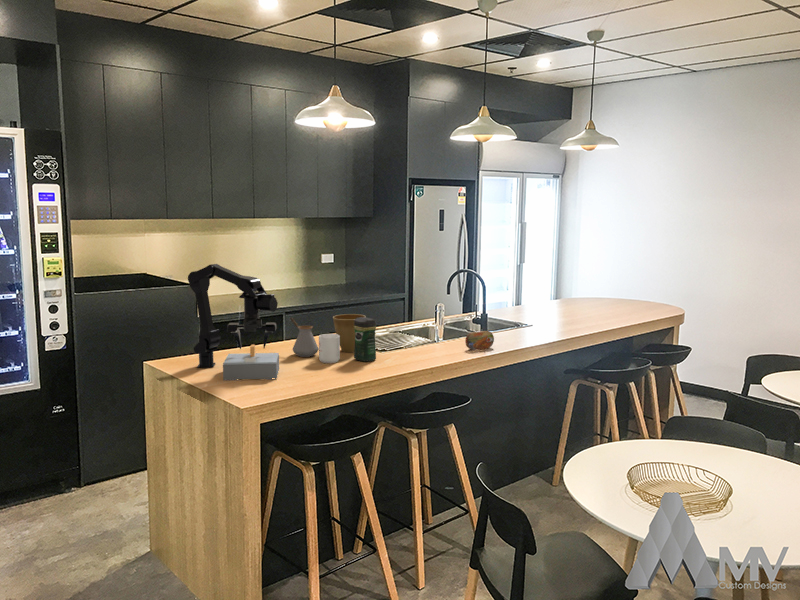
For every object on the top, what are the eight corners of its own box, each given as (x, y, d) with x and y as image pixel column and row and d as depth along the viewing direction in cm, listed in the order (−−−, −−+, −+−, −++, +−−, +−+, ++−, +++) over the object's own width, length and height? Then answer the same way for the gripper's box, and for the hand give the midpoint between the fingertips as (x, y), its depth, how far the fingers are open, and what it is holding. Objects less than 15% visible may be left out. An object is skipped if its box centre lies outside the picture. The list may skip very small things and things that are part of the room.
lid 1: (228, 355, 261) (228, 344, 261) (278, 354, 264) (278, 343, 263) (226, 359, 254) (225, 348, 253) (277, 358, 256) (277, 347, 255)
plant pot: (355, 345, 309) (355, 312, 307) (371, 352, 297) (371, 317, 294) (327, 349, 301) (327, 315, 299) (342, 355, 289) (342, 320, 286)
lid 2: (226, 359, 253) (225, 355, 253) (277, 358, 256) (277, 354, 256) (223, 364, 246) (223, 360, 246) (276, 363, 248) (276, 359, 248)
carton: (228, 369, 262) (228, 355, 261) (279, 368, 265) (278, 354, 264) (223, 380, 247) (222, 365, 246) (276, 379, 249) (276, 364, 248)
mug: (343, 362, 277) (343, 336, 275) (323, 364, 273) (323, 338, 271) (332, 356, 287) (331, 331, 286) (313, 358, 283) (313, 333, 281)
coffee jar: (379, 360, 281) (379, 318, 278) (365, 363, 276) (365, 320, 273) (364, 356, 288) (365, 315, 285) (350, 359, 283) (350, 317, 280)
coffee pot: (323, 356, 288) (323, 322, 286) (299, 359, 281) (299, 325, 279) (301, 347, 305) (301, 315, 303) (279, 350, 299) (278, 317, 296)
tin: (467, 351, 301) (468, 333, 300) (464, 349, 304) (464, 332, 302) (494, 347, 308) (494, 330, 307) (490, 346, 311) (490, 329, 310)
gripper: (224, 313, 247) (225, 353, 249) (274, 313, 249) (274, 352, 251) (228, 308, 258) (229, 347, 260) (276, 308, 260) (276, 346, 262)
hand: (252, 348), depth 258 cm, fingers open, 9 cm apart
